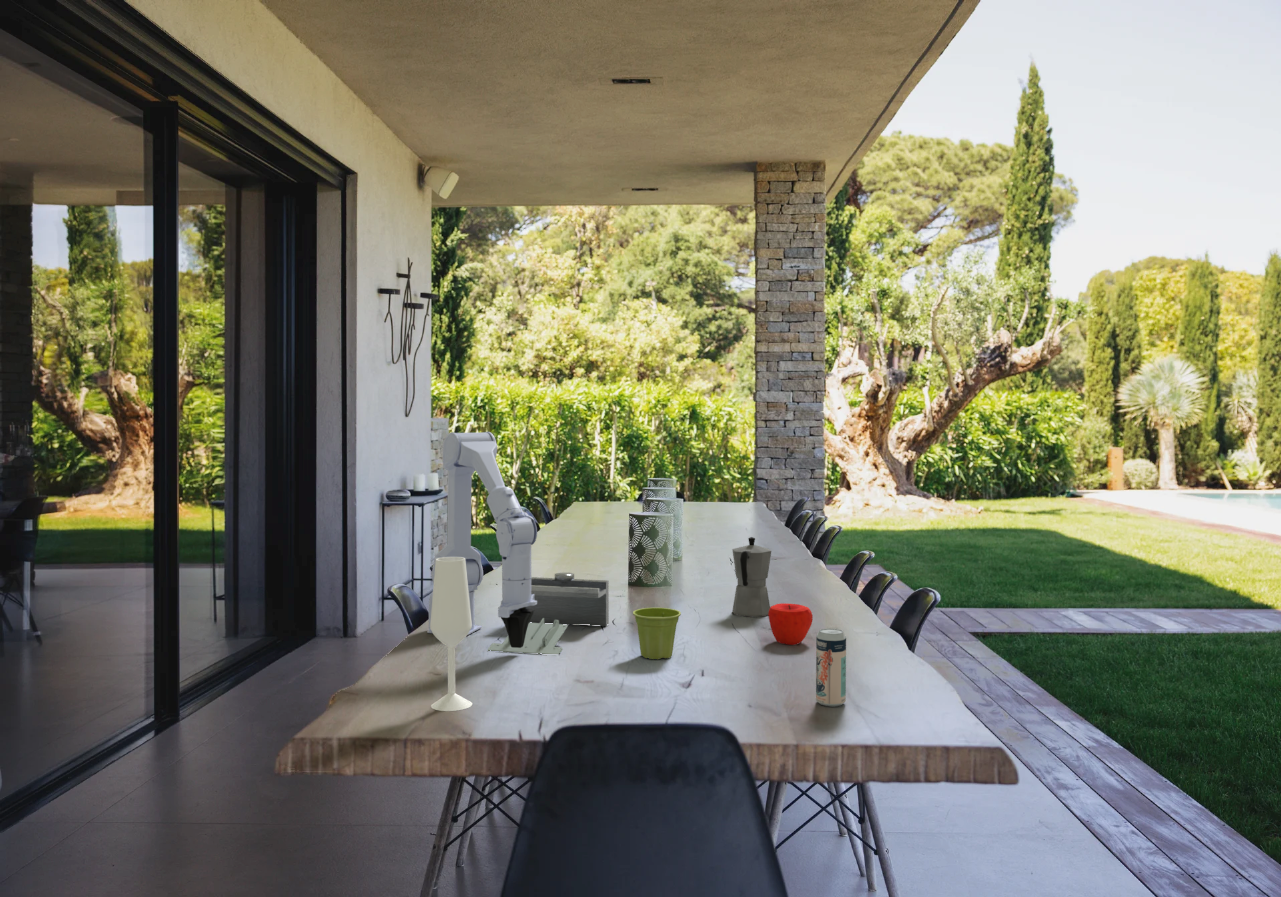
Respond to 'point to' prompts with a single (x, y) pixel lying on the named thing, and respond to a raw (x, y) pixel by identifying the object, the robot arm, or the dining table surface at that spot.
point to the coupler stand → (570, 600)
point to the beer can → (831, 667)
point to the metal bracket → (536, 639)
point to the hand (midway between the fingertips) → (517, 646)
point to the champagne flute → (451, 620)
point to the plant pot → (656, 631)
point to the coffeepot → (751, 580)
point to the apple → (790, 622)
